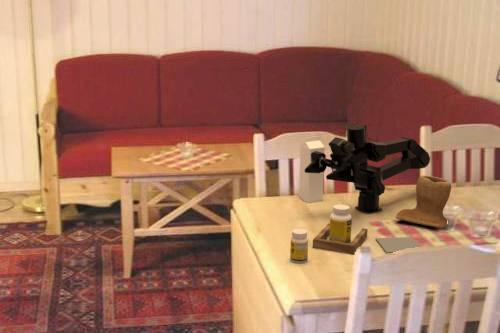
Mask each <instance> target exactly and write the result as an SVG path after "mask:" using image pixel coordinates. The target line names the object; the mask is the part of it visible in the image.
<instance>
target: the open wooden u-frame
mask: <svg viewBox="0 0 500 333" xmlns="http://www.w3.org/2000/svg"><path fill="white" fill-rule="evenodd" d="M329 235H330V222H328V223H327V224H326V225H325V227H323V228H322V229H321V230H320V231H319V232H318V234H317V235H316V236H315V237H313V239H312V248H313V249H318V250H324V251H330V252H335V253H337V252H338V253H342V254H343V253H344V254H348V255H349V254H350V255H354V254H355V253H356V252H357V250H358V249H359V248H360V247H361V245H362V244H363V243H364V242H365V240H366V239H367V238H368V228H365V227H364V228H363V227H362V228H361V230H360V231H359V232H358V233H357V234H356V235H355V236H354V238H353V239H352V240H351V242H350V243H344V242H338V241H332V240H329ZM359 246H360V247H359ZM358 247H359V248H358ZM357 248H358V249H357ZM356 249H357V250H356ZM355 251H356V252H355ZM354 252H355V253H354Z"/></svg>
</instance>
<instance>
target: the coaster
mask: <svg viewBox="0 0 500 333" xmlns="http://www.w3.org/2000/svg"><path fill="white" fill-rule="evenodd" d="M375 241H376V243H377V244H378V245H379V246H380V248H381V249H382V250H383V251H384V253H385V254H386V255H388V254H387V253H393V252H396V251H399V250H403V249H406V248H415V247H422V246H421V245H420V244H419V243H418V242H417V240H416V239H414V237H413V236H402V237H401V236H400V237H398V236H397V237H376V238H375Z"/></svg>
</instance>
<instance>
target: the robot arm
mask: <svg viewBox="0 0 500 333" xmlns="http://www.w3.org/2000/svg"><path fill="white" fill-rule="evenodd" d="M328 147H329V148H330V150H331V153H330V154H329V157H330V158H327V156H326V154H325V152H324V153H322V152H318V151H315V152H312V153H311V163H310V164H309V165H308V166H307V167H306V168H305V173H320V172H324V173H325V171H326V169H327V167H328V168H330V169H331V172H329V173H328V174H327V175H325V177H326V178H325V179H326V180H329V181H336V182H337V181H338V182H346V183H352V184H353V185H354V190H355V191H359V192H358V197H357V206H355V207H354V209H356V210H358V211H361V212H364V213H366V214H371V213H375V212H379V211H383V208H382V207H380V196H382V195H383V194H384V193H385V190H386V186H385V185H384V183H383V181H385V180H387V179H390V178H392V177H396V176H397V175H399V174H401V173H403V172H406V171H409V170H421V169H425V168H426V167H428V165H429V164H430V162H431V156H430V155H429V152H428V151H426V149H425V148H424V147H422V146H421V145H420V144H419V143H418V141H416V139H414V138H411V137H407V136H402V137H399V138H395V139H391V140H390V139H389V140H387V141H382V142H377V141H376V142H375V141H369V140H368V141H367V124H366V125H365V124H363V123H361V124H353V125H352V124H350V125H347V126H346V139H344V138H341V137H338V136H336V137H334V138H333V139H332V140H331V141H330V142H328ZM394 154H400V155H401V156H400V157H399V158H398V157H397V159H394V160H392V161H389V162H386V163H385V164H382V165H379V166H374V165H370V164H369V163H368V162H369V161H370V162H375V163H379V162H381V161H383V160H385V159H386V156H387V157H388V156H389V155H394Z"/></svg>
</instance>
